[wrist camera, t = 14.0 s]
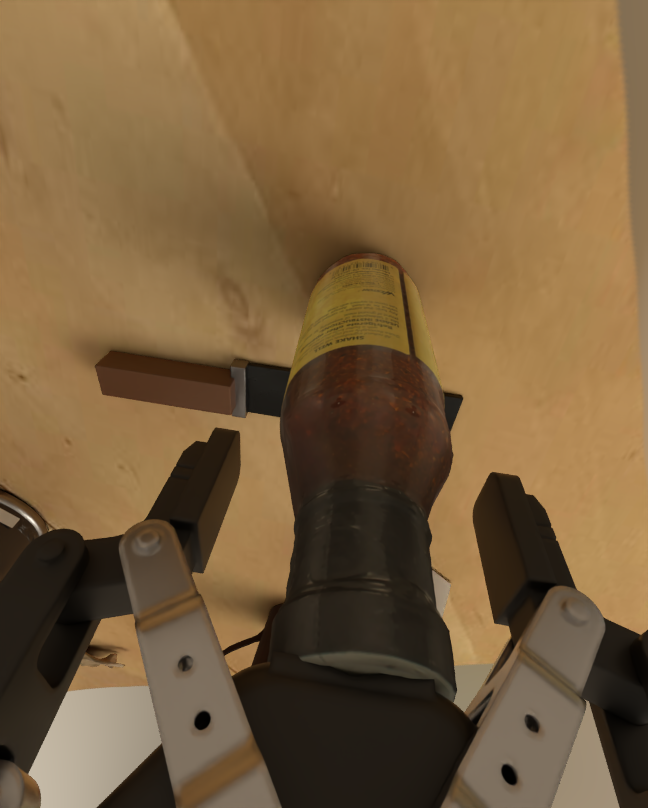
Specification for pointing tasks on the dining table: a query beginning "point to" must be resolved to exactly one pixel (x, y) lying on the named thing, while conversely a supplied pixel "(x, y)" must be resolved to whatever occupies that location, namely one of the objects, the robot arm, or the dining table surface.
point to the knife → (207, 385)
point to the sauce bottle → (365, 479)
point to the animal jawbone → (100, 661)
